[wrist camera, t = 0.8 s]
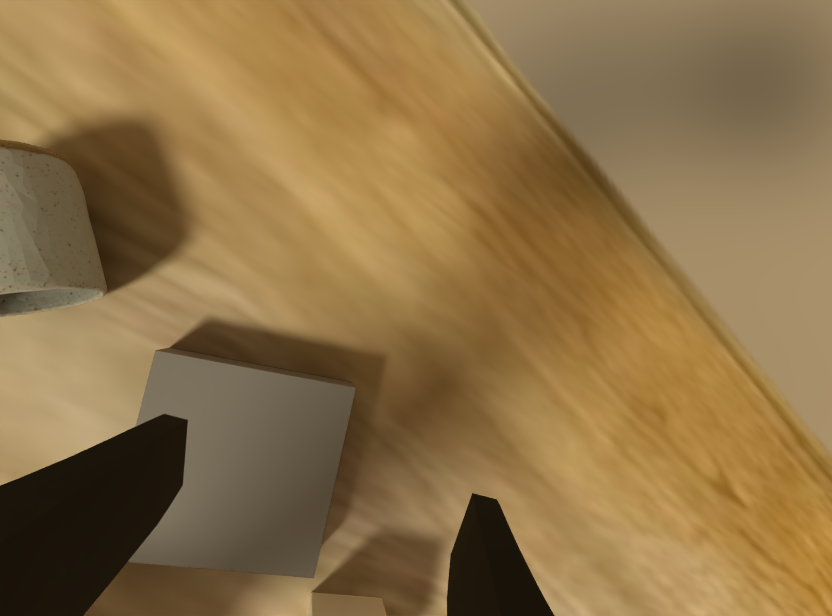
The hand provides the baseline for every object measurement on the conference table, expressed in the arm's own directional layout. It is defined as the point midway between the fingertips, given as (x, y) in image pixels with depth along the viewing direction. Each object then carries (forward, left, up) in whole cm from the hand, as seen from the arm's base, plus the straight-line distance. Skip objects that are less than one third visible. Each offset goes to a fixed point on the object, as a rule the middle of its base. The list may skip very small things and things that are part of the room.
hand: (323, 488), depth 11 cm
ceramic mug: (+4, +18, -22) cm, 29 cm away
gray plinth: (-5, +3, -21) cm, 22 cm away
